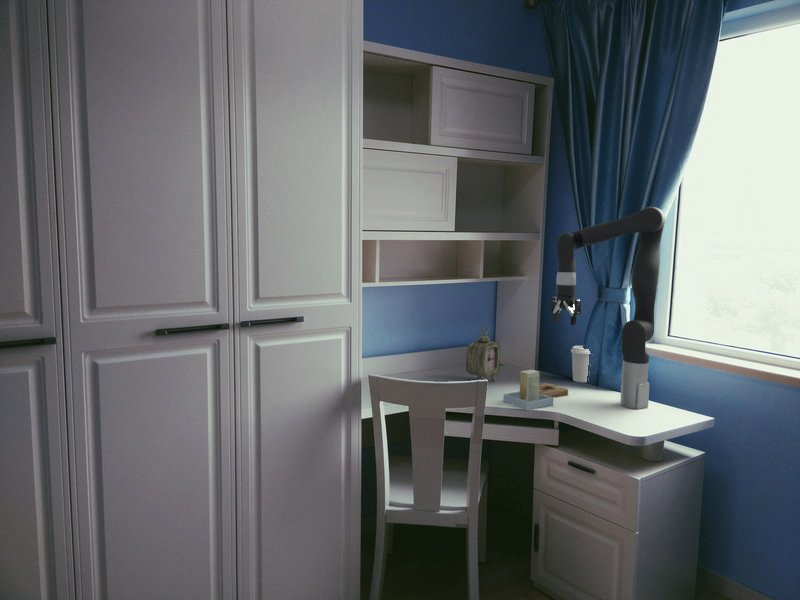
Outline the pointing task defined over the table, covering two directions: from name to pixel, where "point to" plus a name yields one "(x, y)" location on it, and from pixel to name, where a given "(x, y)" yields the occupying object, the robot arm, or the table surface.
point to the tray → (541, 403)
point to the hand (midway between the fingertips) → (564, 324)
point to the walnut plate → (552, 390)
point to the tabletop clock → (483, 357)
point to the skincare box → (529, 385)
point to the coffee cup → (580, 363)
